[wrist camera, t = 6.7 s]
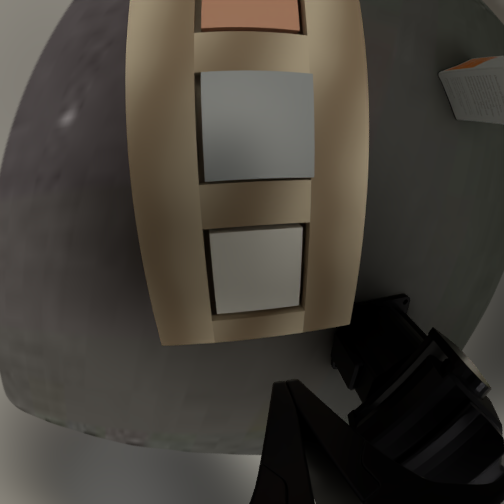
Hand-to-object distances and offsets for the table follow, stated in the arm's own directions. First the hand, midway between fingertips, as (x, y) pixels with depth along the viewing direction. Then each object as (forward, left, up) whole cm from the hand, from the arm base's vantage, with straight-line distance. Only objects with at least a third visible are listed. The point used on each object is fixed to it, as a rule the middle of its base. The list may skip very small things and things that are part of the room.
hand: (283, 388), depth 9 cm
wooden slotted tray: (0, -8, -10) cm, 13 cm away
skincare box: (-18, -14, -10) cm, 25 cm away
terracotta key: (0, -15, -8) cm, 17 cm away
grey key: (0, -8, -7) cm, 11 cm away
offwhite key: (0, -1, -9) cm, 9 cm away
